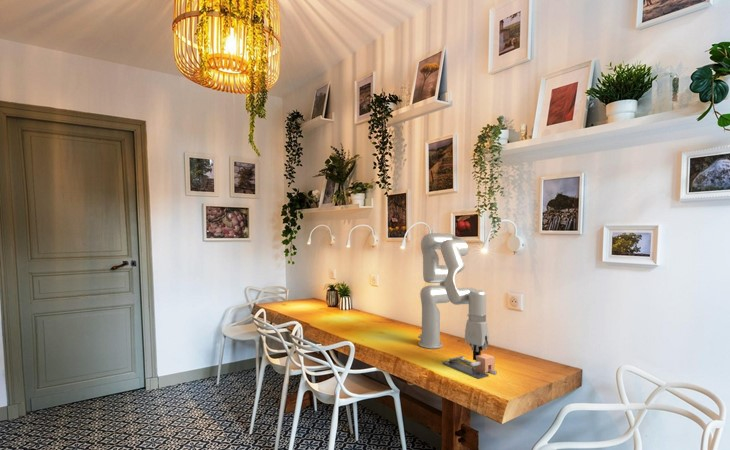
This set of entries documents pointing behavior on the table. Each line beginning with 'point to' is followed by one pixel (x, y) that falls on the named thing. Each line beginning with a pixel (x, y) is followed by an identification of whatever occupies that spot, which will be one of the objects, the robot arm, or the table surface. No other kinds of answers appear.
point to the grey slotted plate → (469, 363)
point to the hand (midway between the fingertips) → (476, 359)
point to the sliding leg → (484, 363)
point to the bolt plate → (466, 369)
